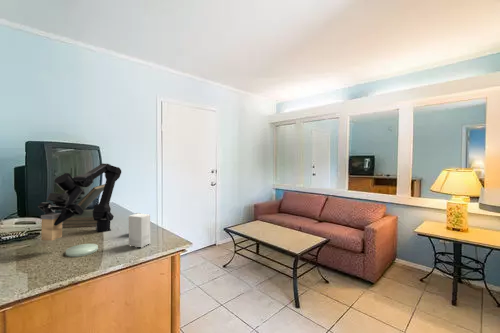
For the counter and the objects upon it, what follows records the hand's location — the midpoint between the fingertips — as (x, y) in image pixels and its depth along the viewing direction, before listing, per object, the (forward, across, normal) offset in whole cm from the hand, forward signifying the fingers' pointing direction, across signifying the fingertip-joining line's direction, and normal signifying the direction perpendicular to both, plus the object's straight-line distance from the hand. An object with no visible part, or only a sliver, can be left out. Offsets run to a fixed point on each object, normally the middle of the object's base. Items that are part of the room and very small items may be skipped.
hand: (49, 224), depth 103 cm
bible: (-26, -22, +45) cm, 56 cm away
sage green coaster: (+6, +12, +12) cm, 18 cm away
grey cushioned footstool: (+4, 0, +6) cm, 7 cm away
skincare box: (-2, +33, +20) cm, 39 cm away
